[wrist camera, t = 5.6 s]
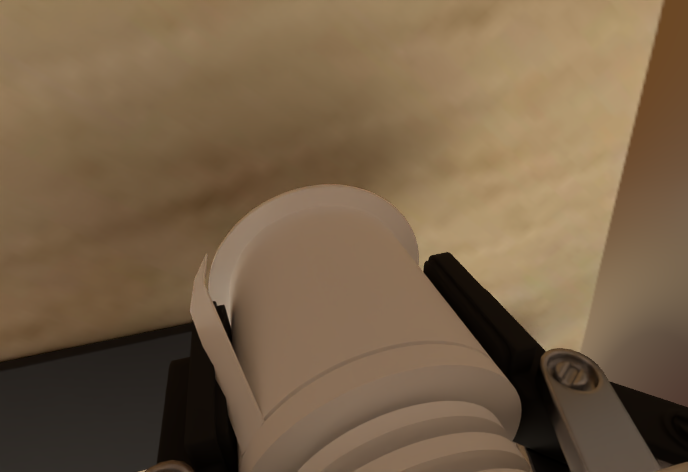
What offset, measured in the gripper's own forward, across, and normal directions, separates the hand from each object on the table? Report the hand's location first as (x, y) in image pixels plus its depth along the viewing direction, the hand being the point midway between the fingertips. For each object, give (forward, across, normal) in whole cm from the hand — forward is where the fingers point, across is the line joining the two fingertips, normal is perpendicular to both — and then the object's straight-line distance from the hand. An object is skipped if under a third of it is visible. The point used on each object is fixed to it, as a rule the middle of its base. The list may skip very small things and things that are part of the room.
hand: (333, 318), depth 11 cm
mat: (+7, +7, +10) cm, 15 cm away
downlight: (+2, 0, 0) cm, 2 cm away
